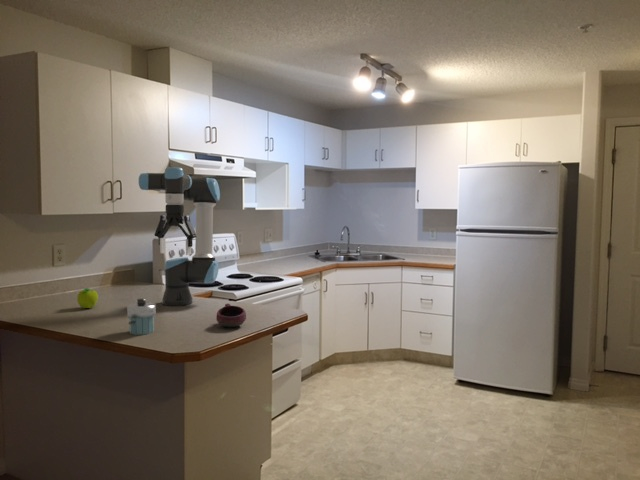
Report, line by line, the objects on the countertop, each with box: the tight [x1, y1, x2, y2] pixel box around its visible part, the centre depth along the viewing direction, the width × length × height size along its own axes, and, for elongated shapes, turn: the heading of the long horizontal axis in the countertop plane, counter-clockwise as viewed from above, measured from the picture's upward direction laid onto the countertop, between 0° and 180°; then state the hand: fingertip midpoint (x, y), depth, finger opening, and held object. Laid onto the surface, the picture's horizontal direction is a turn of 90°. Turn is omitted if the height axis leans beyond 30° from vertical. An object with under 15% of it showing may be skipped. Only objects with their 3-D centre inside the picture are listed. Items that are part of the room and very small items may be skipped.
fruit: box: [76, 287, 99, 309], centre depth 261 cm, size 9×9×10 cm
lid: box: [126, 297, 157, 318], centre depth 217 cm, size 11×11×6 cm
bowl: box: [215, 303, 247, 328], centre depth 228 cm, size 16×13×8 cm
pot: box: [128, 315, 155, 336], centre depth 218 cm, size 13×9×7 cm
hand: (175, 253), depth 228 cm, fingers open, 13 cm apart
